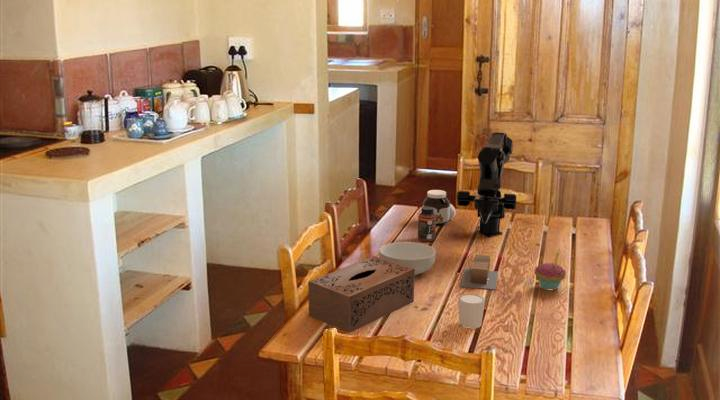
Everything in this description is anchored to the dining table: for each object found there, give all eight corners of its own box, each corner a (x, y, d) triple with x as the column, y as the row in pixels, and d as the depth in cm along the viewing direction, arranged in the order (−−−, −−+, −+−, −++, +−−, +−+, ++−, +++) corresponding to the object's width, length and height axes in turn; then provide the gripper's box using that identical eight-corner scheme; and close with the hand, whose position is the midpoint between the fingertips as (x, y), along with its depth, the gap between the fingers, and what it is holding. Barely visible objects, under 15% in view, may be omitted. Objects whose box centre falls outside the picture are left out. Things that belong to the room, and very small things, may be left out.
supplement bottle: (434, 243, 250) (435, 210, 247) (416, 241, 251) (417, 209, 248) (436, 237, 256) (437, 205, 252) (418, 236, 257) (419, 204, 254)
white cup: (454, 318, 193) (455, 293, 191) (480, 317, 194) (481, 293, 192) (459, 330, 186) (461, 304, 184) (486, 329, 187) (488, 304, 185)
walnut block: (475, 254, 225) (471, 268, 214) (490, 255, 224) (487, 269, 213) (474, 268, 227) (470, 283, 215) (489, 269, 226) (486, 284, 214)
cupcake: (565, 284, 216) (568, 245, 213) (562, 295, 208) (566, 254, 205) (535, 280, 219) (538, 241, 215) (531, 291, 211) (534, 251, 208)
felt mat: (464, 269, 227) (464, 268, 226) (498, 272, 224) (498, 271, 224) (460, 286, 213) (460, 285, 213) (495, 290, 211) (495, 289, 211)
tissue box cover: (373, 288, 212) (374, 256, 210) (413, 303, 203) (414, 268, 200) (308, 316, 194) (308, 281, 191) (349, 334, 185) (349, 296, 182)
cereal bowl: (442, 267, 228) (443, 245, 226) (423, 286, 214) (424, 263, 212) (391, 258, 235) (391, 237, 233) (369, 276, 221) (370, 254, 219)
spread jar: (420, 225, 268) (421, 194, 265) (423, 216, 279) (424, 186, 276) (454, 227, 267) (455, 196, 263) (455, 218, 277) (457, 187, 274)
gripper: (458, 166, 237) (453, 209, 230) (518, 169, 233) (515, 213, 226) (459, 183, 247) (455, 225, 240) (517, 187, 243) (514, 229, 236)
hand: (484, 223), depth 235 cm, fingers closed
